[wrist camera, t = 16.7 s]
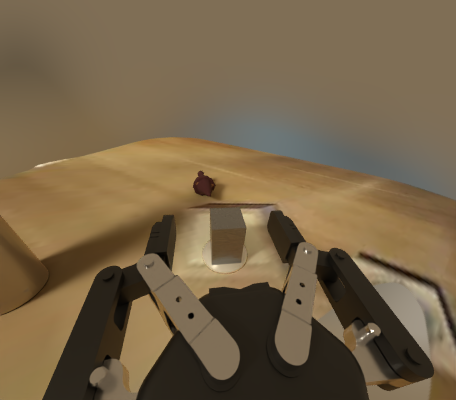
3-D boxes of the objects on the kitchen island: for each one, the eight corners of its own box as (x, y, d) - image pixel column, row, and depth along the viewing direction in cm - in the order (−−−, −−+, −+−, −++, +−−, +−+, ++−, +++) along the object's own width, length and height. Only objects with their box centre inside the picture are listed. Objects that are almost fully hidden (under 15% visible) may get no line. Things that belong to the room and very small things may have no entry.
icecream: (224, 186, 52) (210, 169, 65) (199, 183, 49) (190, 166, 61) (218, 206, 55) (206, 187, 67) (195, 204, 52) (187, 185, 64)
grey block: (211, 265, 36) (211, 229, 31) (210, 242, 41) (209, 208, 36) (241, 262, 37) (246, 227, 31) (236, 240, 42) (239, 207, 37)
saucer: (192, 255, 39) (192, 254, 38) (221, 231, 45) (221, 229, 45) (228, 283, 34) (228, 281, 33) (255, 251, 40) (255, 249, 40)
